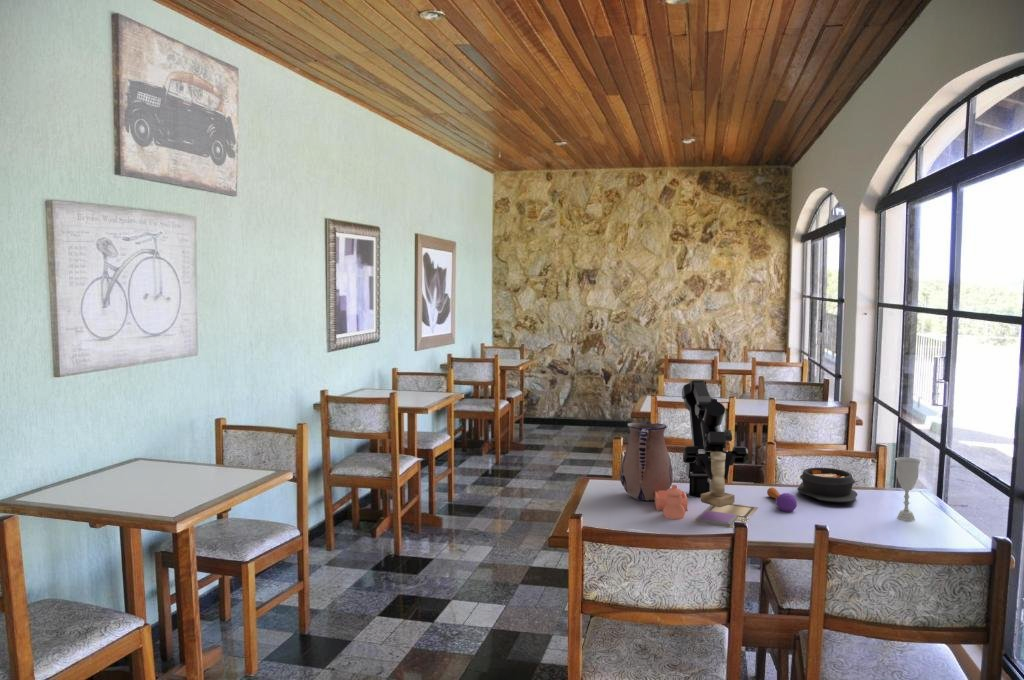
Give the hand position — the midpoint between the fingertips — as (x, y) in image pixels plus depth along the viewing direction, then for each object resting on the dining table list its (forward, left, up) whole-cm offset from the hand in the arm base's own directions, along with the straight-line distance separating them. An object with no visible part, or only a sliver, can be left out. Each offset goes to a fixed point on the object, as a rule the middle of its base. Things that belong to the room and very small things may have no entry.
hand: (718, 479), depth 218 cm
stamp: (-1, +1, -8) cm, 8 cm away
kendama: (+13, +28, -14) cm, 34 cm away
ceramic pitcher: (-28, +14, -13) cm, 34 cm away
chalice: (+48, +32, -13) cm, 59 cm away
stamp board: (0, +8, -13) cm, 16 cm away
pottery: (-16, +4, -13) cm, 21 cm away
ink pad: (-1, +1, -13) cm, 13 cm away
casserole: (+24, +46, -14) cm, 54 cm away
